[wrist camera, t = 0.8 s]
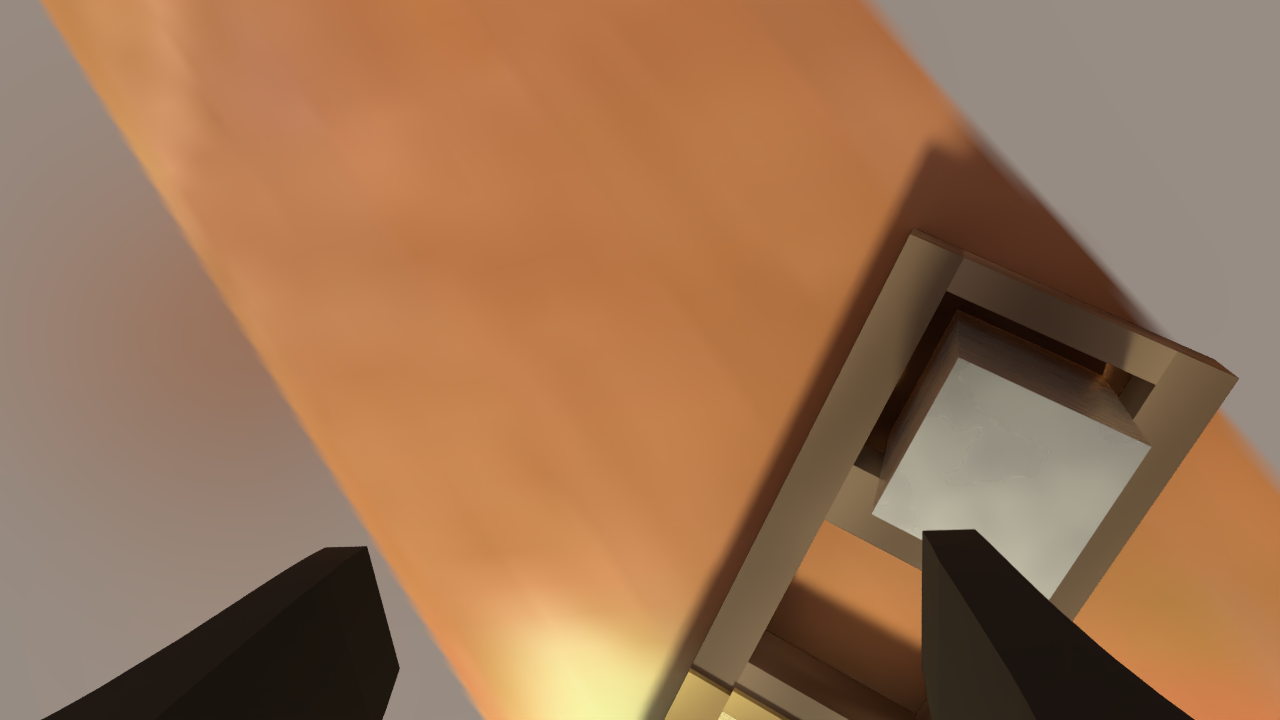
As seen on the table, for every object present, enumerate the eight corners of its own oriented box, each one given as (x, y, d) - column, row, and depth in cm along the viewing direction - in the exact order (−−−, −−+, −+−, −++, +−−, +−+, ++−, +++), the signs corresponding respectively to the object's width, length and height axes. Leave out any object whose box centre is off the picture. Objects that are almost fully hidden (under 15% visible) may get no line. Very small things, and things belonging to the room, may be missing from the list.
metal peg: (1102, 375, 23) (1151, 447, 17) (1024, 500, 24) (1046, 604, 18) (957, 308, 23) (958, 357, 18) (889, 433, 25) (871, 514, 19)
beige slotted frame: (1214, 359, 22) (1241, 380, 20) (844, 912, 29) (836, 969, 27) (913, 227, 23) (909, 234, 21) (633, 780, 30) (610, 825, 28)
